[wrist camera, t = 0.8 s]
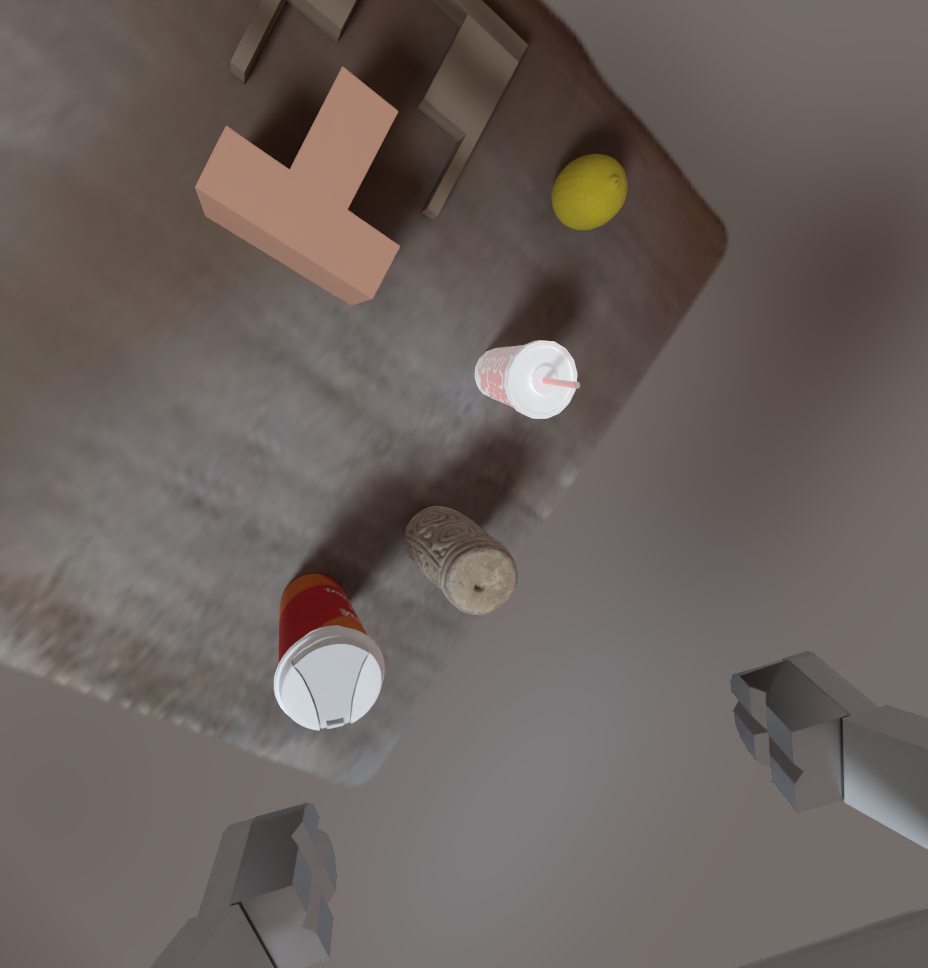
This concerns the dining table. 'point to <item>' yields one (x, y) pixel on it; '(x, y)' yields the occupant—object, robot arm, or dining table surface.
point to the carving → (461, 559)
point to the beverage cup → (529, 377)
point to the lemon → (589, 191)
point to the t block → (309, 194)
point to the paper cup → (324, 656)
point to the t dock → (454, 87)
